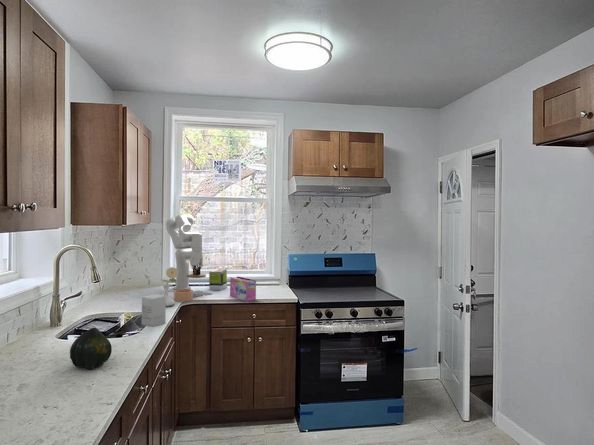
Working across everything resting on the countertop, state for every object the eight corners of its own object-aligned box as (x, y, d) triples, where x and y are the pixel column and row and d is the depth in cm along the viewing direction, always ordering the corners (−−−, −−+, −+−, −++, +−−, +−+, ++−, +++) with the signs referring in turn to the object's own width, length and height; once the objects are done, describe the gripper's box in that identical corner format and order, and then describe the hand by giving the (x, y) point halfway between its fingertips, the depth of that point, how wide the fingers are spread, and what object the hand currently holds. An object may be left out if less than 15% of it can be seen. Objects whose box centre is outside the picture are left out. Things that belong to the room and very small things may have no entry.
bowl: (170, 299, 283) (170, 290, 282) (185, 296, 292) (186, 288, 292) (180, 302, 275) (181, 293, 274) (196, 299, 284) (196, 290, 284)
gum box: (228, 295, 299) (228, 277, 299) (237, 294, 304) (238, 276, 304) (246, 301, 281) (247, 281, 281) (256, 299, 286) (256, 280, 286)
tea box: (215, 286, 334) (215, 268, 334) (227, 287, 333) (227, 268, 333) (208, 289, 320) (209, 271, 319) (221, 290, 318) (221, 271, 318)
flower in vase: (156, 308, 257) (156, 268, 256) (157, 304, 268) (157, 266, 267) (177, 307, 260) (178, 267, 260) (178, 303, 271) (178, 265, 271)
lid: (183, 276, 301) (183, 268, 301) (198, 274, 311) (198, 266, 311) (194, 278, 292) (194, 269, 292) (209, 276, 302) (209, 268, 302)
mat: (179, 294, 301) (179, 293, 301) (198, 291, 314) (198, 290, 314) (193, 297, 290) (193, 296, 290) (212, 294, 303) (212, 293, 303)
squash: (70, 363, 148) (98, 326, 155) (56, 354, 158) (83, 320, 165) (100, 380, 156) (126, 345, 163) (85, 371, 166) (109, 338, 173)
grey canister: (154, 320, 227) (154, 293, 227) (165, 323, 222) (166, 295, 222) (140, 324, 219) (141, 296, 219) (152, 327, 215) (152, 298, 214)
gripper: (185, 249, 304) (185, 274, 304) (199, 250, 293) (199, 276, 293) (194, 248, 309) (194, 273, 310) (207, 250, 299) (207, 275, 299)
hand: (196, 274), depth 302 cm, fingers closed on lid, 3 cm apart
